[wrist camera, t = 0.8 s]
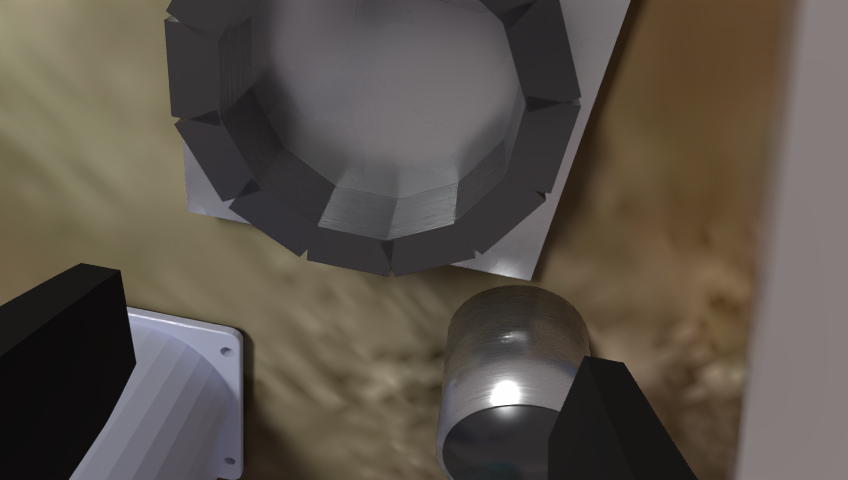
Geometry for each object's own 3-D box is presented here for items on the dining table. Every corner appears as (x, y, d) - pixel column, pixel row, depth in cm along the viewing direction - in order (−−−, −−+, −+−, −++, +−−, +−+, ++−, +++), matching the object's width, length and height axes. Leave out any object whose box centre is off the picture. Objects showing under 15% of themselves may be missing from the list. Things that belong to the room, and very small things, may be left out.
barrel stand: (528, 262, 20) (533, 328, 17) (200, 195, 20) (154, 251, 17) (661, -121, 13) (701, -109, 11) (179, -224, 13) (100, -237, 11)
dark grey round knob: (562, 397, 23) (576, 521, 19) (436, 371, 23) (422, 490, 19) (606, 301, 20) (634, 423, 16) (463, 272, 20) (453, 386, 16)
